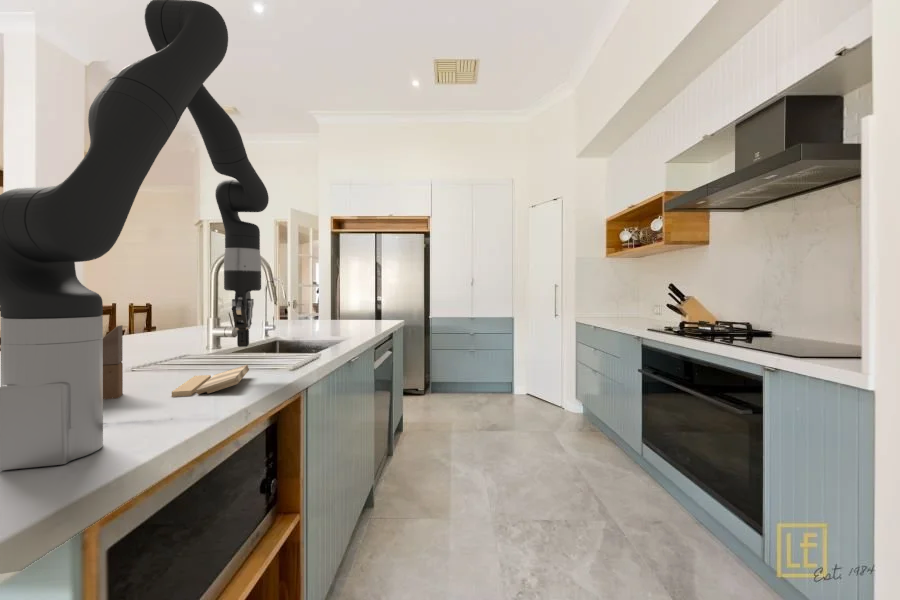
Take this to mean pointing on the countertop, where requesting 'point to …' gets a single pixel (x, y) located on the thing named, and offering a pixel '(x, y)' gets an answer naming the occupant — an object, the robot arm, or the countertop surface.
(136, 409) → the countertop surface
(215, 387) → the board
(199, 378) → the floor section
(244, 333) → the robot arm
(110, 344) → the wooden block
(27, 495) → the countertop surface
